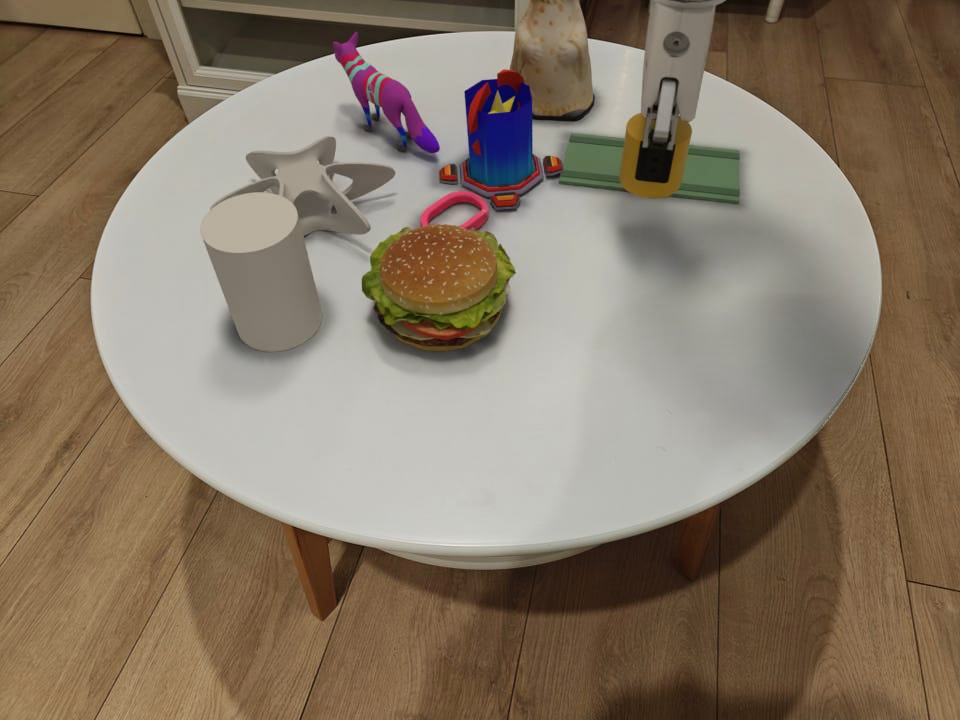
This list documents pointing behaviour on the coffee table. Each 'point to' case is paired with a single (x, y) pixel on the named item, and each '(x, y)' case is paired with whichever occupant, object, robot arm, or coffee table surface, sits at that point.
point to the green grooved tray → (702, 176)
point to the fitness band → (455, 198)
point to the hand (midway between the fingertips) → (654, 158)
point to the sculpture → (316, 185)
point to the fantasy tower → (500, 142)
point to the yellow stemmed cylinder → (630, 157)
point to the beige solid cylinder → (263, 270)
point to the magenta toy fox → (383, 97)
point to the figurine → (554, 59)
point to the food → (438, 285)
